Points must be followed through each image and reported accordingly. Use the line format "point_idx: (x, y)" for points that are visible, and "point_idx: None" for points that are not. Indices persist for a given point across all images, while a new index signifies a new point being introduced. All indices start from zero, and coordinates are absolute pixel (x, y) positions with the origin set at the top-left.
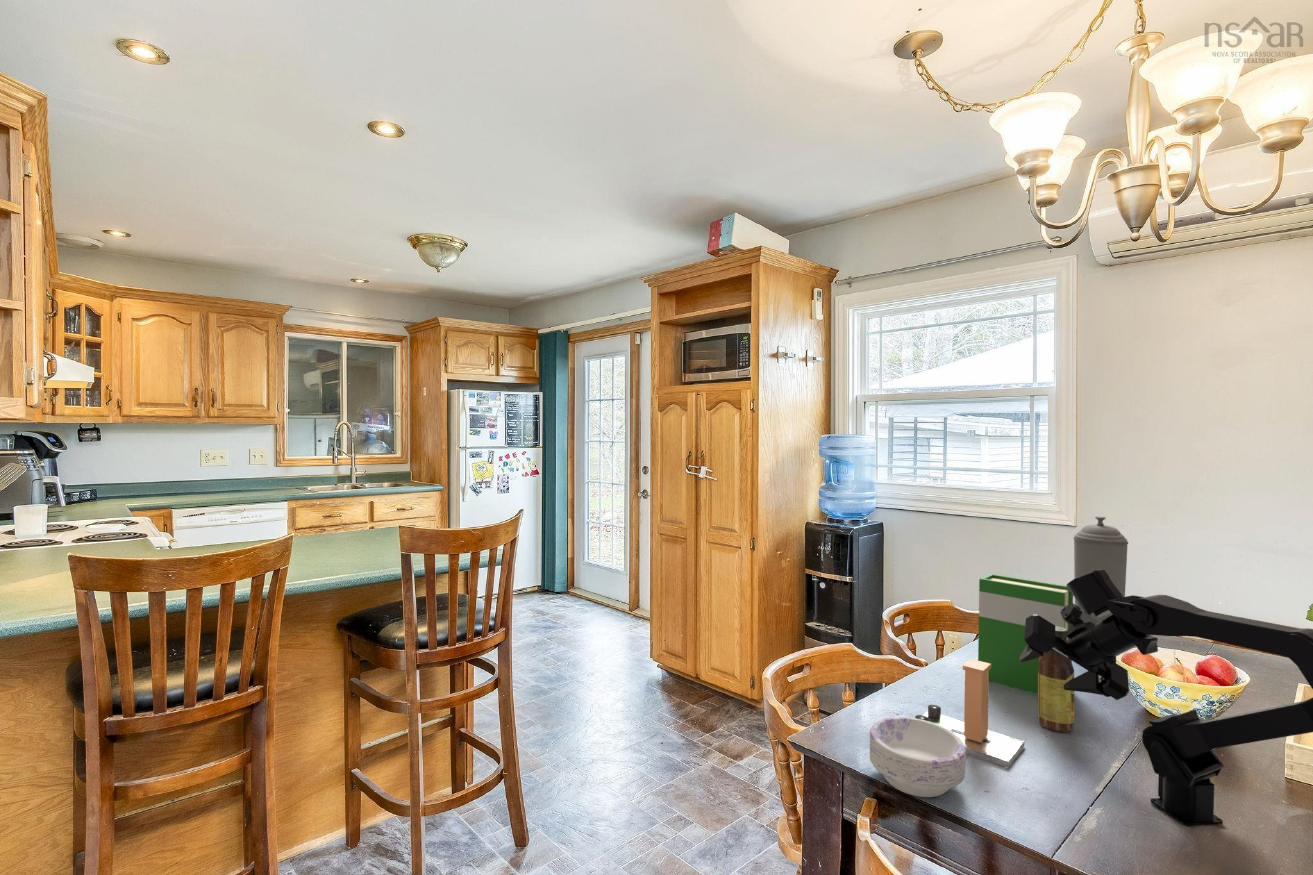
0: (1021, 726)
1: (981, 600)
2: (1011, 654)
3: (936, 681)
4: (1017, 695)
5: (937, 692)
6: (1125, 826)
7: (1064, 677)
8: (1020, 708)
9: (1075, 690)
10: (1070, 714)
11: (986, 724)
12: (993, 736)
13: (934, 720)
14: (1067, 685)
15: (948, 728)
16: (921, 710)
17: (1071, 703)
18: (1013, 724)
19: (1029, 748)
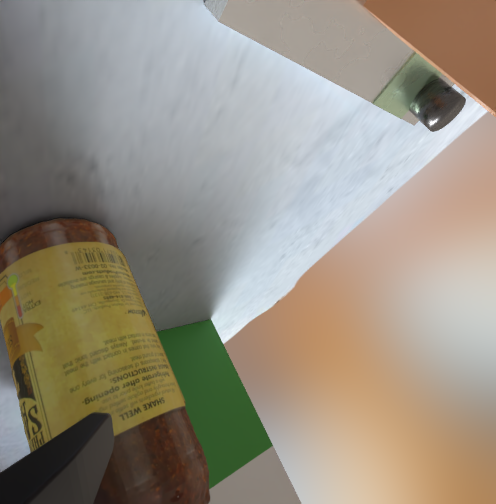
0: (171, 190)
1: (288, 488)
2: (186, 401)
3: (289, 269)
4: (150, 316)
5: (309, 236)
6: None
7: None
8: (153, 276)
9: (5, 480)
10: (14, 302)
11: (420, 12)
12: (333, 16)
13: None
14: (91, 465)
15: None
16: (393, 142)
17: (21, 350)
18: (193, 190)
19: (180, 3)
